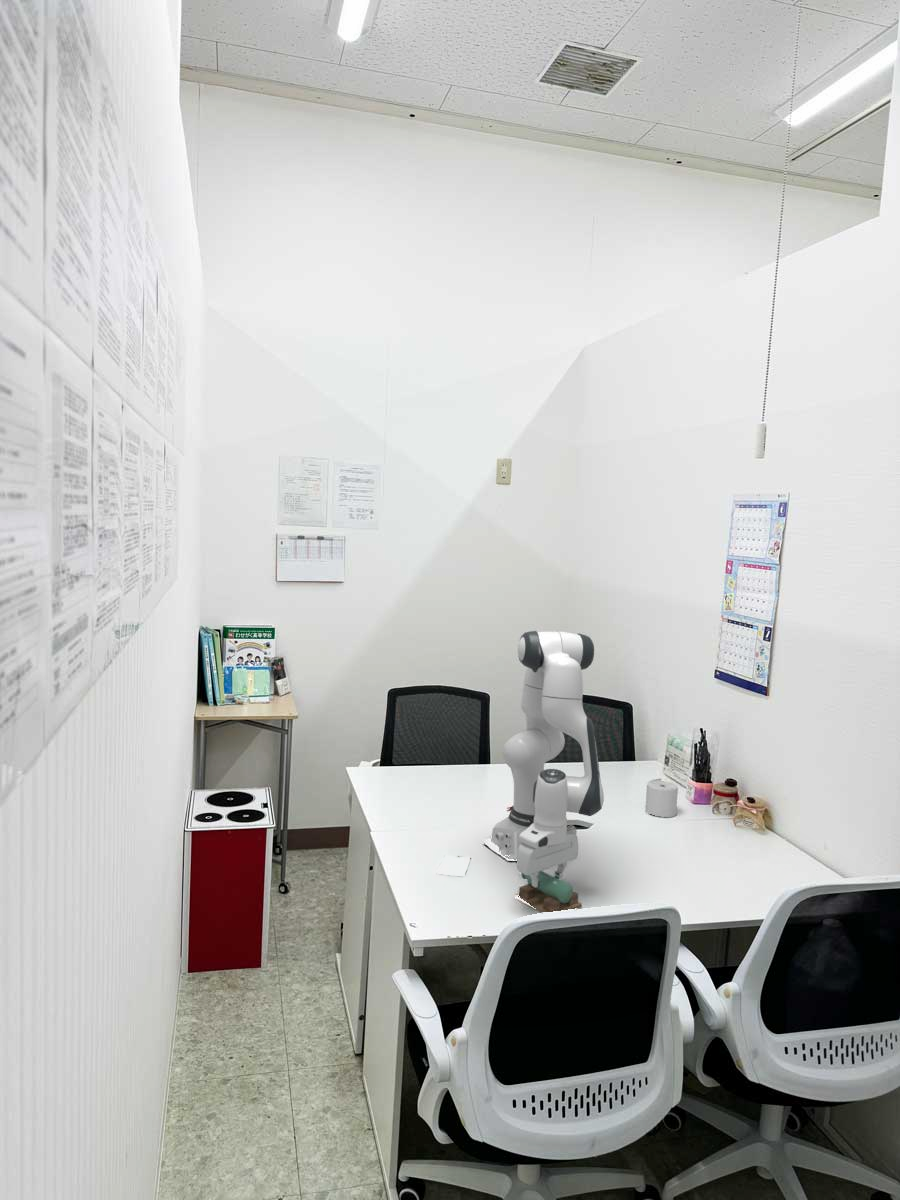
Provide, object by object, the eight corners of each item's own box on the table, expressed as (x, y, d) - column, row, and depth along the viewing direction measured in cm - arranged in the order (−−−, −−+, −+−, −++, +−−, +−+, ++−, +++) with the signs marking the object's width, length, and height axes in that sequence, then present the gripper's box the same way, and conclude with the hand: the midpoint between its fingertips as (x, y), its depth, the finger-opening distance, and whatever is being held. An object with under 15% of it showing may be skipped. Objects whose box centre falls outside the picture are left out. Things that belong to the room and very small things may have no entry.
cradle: (514, 898, 225) (515, 886, 225) (543, 888, 232) (544, 876, 232) (552, 918, 215) (553, 905, 214) (581, 907, 222) (582, 894, 221)
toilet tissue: (658, 819, 289) (659, 791, 288) (636, 808, 300) (638, 780, 299) (682, 816, 294) (684, 788, 293) (660, 804, 305) (662, 778, 304)
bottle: (572, 900, 220) (573, 882, 220) (559, 905, 217) (560, 886, 216) (530, 880, 232) (532, 862, 231) (517, 883, 228) (519, 866, 228)
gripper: (567, 820, 231) (565, 868, 233) (514, 836, 218) (511, 887, 220) (585, 827, 226) (582, 876, 228) (531, 844, 213) (529, 896, 215)
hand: (547, 881), depth 223 cm, fingers open, 7 cm apart
